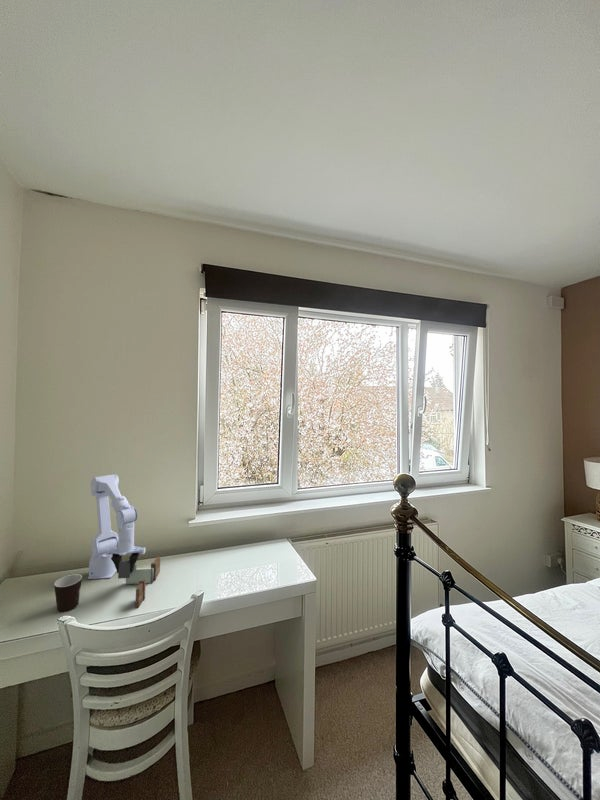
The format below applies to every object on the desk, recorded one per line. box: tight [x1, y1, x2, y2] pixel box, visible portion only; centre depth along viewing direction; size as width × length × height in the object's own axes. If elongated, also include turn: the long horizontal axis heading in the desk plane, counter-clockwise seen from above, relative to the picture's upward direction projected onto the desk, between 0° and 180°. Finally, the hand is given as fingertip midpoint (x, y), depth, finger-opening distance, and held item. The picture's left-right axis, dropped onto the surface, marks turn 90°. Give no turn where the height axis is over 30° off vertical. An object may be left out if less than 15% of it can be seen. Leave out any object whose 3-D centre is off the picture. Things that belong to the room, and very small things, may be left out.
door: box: [125, 567, 154, 585], centre depth 137 cm, size 11×1×6 cm, turn 97°
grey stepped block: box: [117, 559, 137, 579], centre depth 132 cm, size 7×4×6 cm, turn 7°
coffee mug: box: [53, 573, 83, 613], centre depth 122 cm, size 12×9×10 cm
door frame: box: [135, 555, 161, 609], centre depth 134 cm, size 2×26×8 cm, turn 7°
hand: (125, 571), depth 130 cm, fingers closed on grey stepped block, 4 cm apart
